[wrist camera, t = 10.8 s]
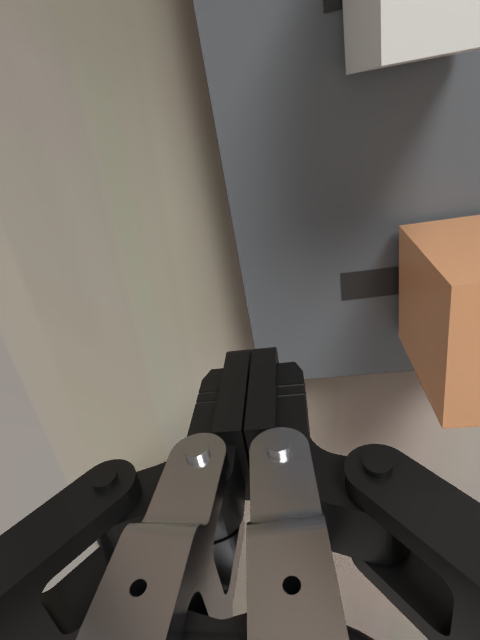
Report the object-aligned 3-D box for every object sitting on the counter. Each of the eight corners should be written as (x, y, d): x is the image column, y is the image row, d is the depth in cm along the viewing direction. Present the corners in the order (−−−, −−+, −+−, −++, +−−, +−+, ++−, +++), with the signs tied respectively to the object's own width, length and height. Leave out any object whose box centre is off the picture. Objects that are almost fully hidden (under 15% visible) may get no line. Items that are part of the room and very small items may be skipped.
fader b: (503, 211, 15) (608, 268, 10) (490, 327, 17) (571, 420, 13) (399, 225, 16) (451, 285, 11) (398, 336, 18) (442, 428, 13)
